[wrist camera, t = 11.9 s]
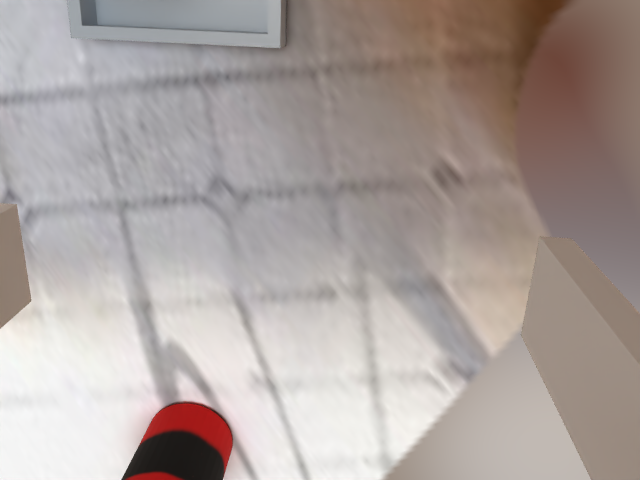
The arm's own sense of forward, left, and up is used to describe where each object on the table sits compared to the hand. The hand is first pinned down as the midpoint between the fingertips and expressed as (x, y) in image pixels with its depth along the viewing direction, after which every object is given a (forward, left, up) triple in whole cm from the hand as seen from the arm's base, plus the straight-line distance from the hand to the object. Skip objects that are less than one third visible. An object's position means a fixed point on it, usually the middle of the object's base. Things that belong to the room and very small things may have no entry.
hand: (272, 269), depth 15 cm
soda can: (+11, +30, -29) cm, 43 cm away
